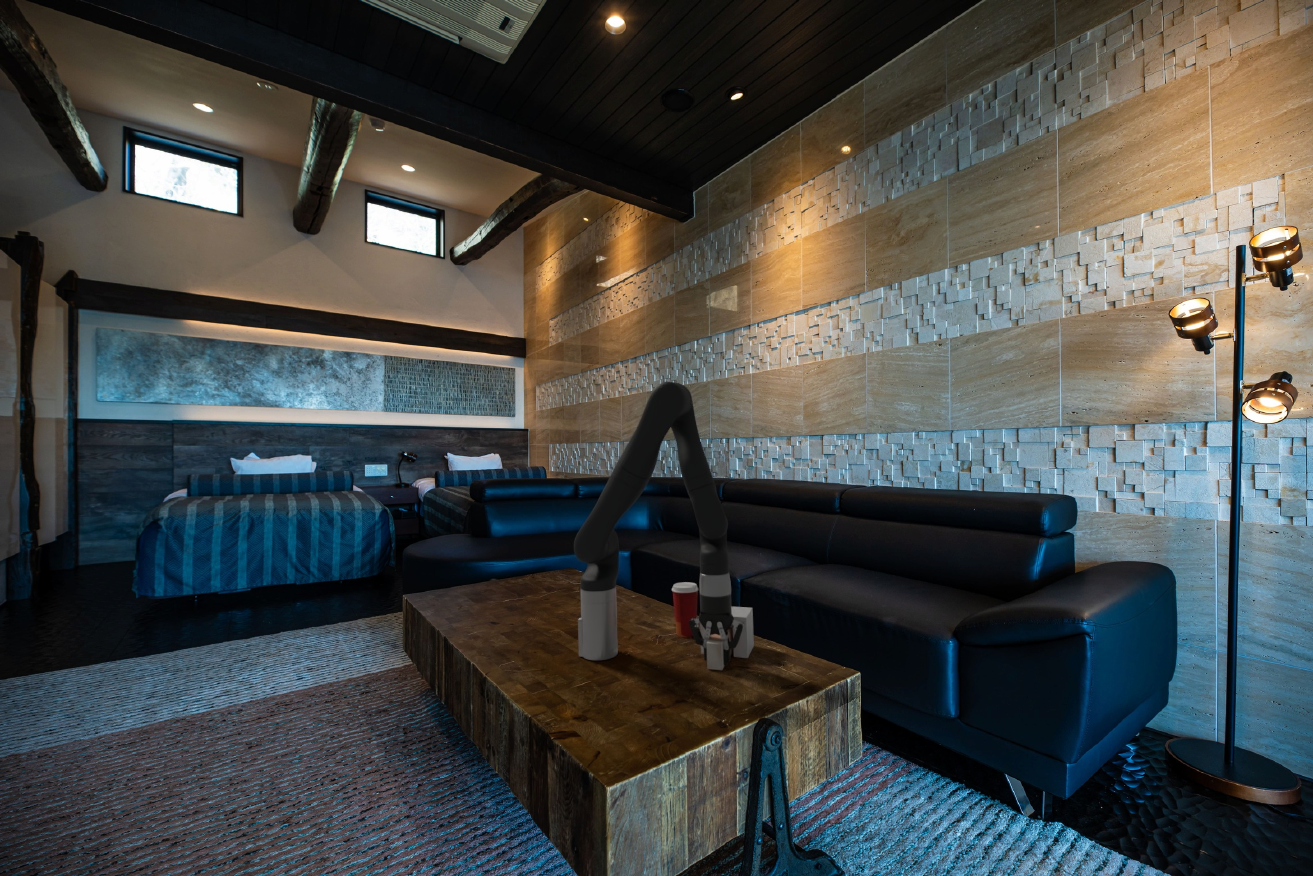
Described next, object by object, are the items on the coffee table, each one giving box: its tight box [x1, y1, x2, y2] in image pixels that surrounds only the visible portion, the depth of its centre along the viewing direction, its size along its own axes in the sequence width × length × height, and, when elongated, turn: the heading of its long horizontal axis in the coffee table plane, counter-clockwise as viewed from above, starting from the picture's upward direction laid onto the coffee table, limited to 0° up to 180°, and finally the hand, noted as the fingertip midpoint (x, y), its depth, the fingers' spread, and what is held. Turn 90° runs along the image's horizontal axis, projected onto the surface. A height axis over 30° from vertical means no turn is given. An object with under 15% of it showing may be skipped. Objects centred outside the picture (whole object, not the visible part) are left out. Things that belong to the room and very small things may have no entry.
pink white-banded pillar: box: [706, 627, 734, 671], centre depth 135 cm, size 4×16×6 cm, turn 160°
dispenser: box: [699, 605, 755, 659], centre depth 141 cm, size 12×10×10 cm
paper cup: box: [671, 581, 700, 639], centre depth 154 cm, size 8×8×14 cm
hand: (717, 663), depth 130 cm, fingers closed on pink white-banded pillar, 3 cm apart
